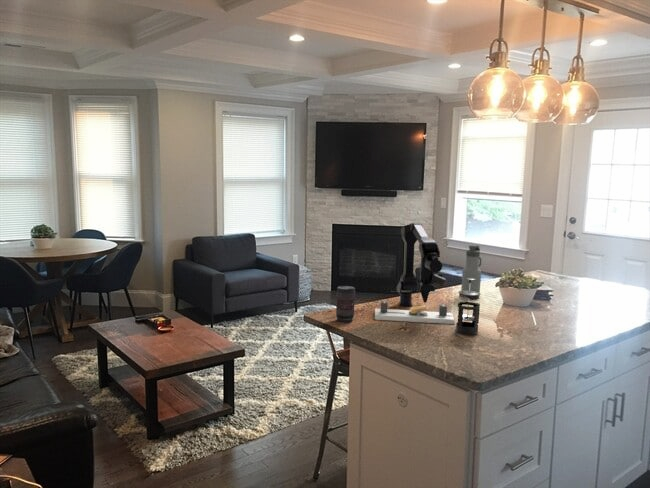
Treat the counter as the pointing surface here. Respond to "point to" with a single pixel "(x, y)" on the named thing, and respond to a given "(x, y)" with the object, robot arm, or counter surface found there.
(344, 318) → the camera lens
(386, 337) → the counter surface
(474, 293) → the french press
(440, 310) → the slider
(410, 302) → the robot arm
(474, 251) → the water bottle
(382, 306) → the slider
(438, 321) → the panel
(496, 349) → the counter surface
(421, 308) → the tan block
